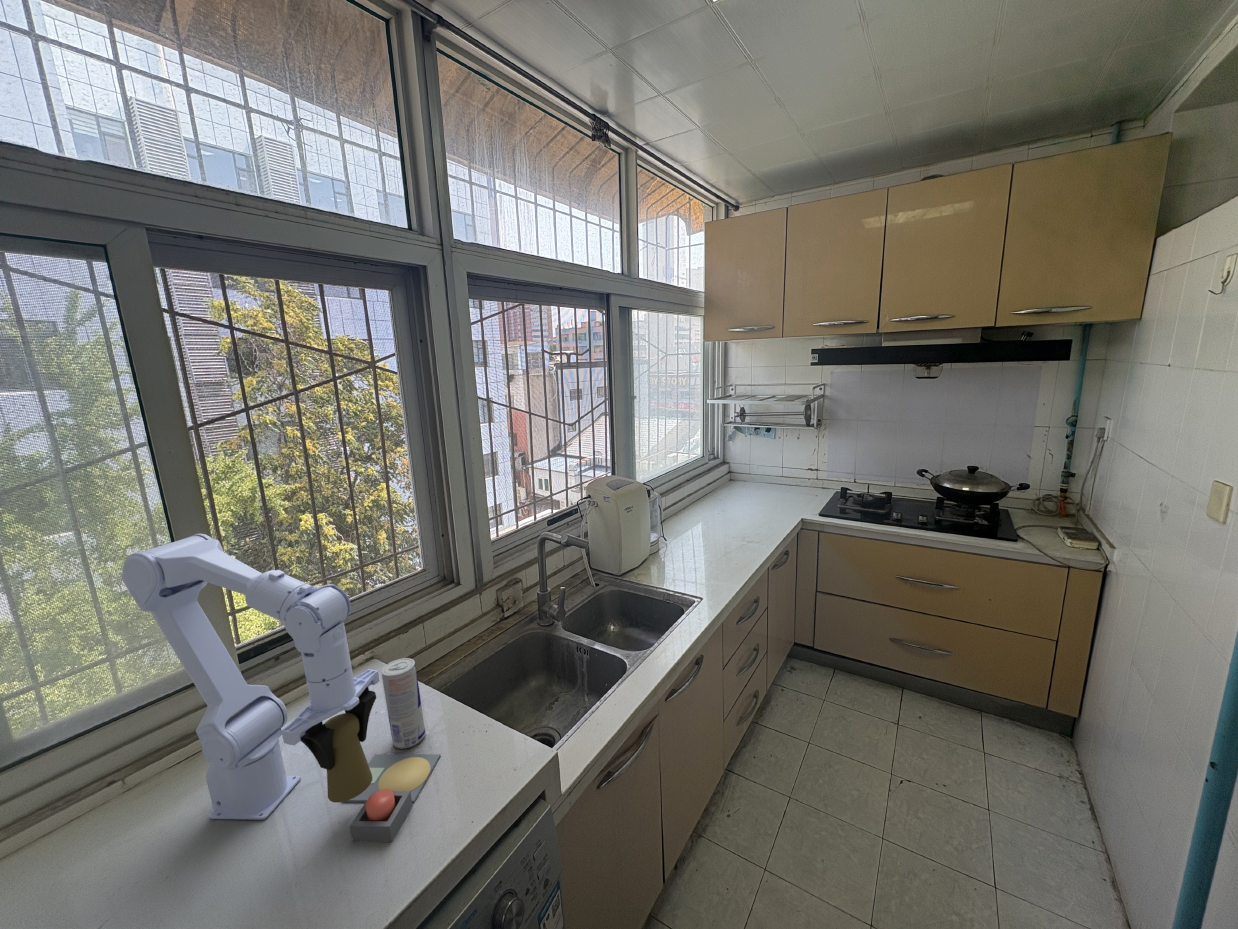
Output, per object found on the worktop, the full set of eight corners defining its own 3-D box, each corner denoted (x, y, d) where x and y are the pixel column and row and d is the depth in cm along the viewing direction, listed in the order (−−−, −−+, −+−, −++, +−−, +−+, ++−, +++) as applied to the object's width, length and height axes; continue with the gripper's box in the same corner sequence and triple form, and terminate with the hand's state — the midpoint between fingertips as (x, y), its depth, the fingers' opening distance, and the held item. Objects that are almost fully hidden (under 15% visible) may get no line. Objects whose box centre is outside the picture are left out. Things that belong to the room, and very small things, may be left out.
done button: (362, 825, 71) (359, 810, 70) (377, 802, 75) (374, 789, 74) (387, 825, 71) (385, 811, 70) (400, 803, 74) (398, 789, 74)
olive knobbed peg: (368, 765, 78) (356, 701, 77) (376, 786, 73) (364, 718, 72) (324, 786, 74) (311, 720, 73) (330, 809, 69) (316, 739, 68)
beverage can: (432, 735, 91) (421, 661, 88) (405, 755, 86) (393, 678, 84) (413, 725, 94) (402, 654, 91) (386, 744, 89) (374, 669, 87)
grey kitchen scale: (341, 802, 77) (341, 799, 77) (375, 756, 86) (375, 753, 86) (414, 803, 76) (413, 800, 76) (440, 756, 85) (440, 753, 85)
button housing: (352, 841, 70) (349, 826, 70) (375, 805, 76) (373, 790, 76) (392, 842, 70) (389, 826, 69) (412, 805, 76) (410, 791, 75)
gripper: (301, 707, 63) (319, 798, 65) (388, 647, 76) (400, 724, 79) (264, 698, 65) (282, 786, 68) (354, 642, 79) (367, 717, 81)
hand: (344, 752), depth 73 cm, fingers closed on olive knobbed peg, 5 cm apart
